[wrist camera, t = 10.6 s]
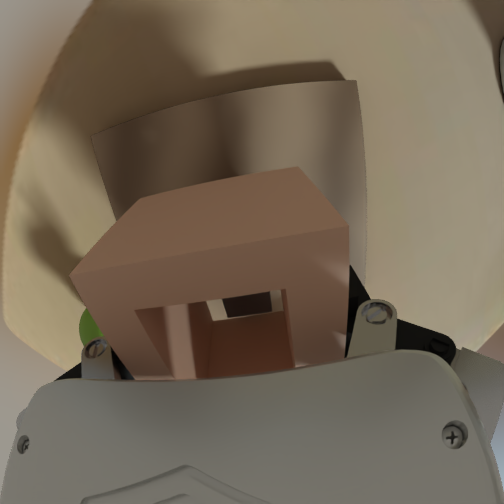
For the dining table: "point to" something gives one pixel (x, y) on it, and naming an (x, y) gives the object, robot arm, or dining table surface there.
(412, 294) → the dining table surface
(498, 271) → the dining table surface
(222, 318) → the hub plate
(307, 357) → the tan rectangular frame
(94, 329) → the snail figurine
